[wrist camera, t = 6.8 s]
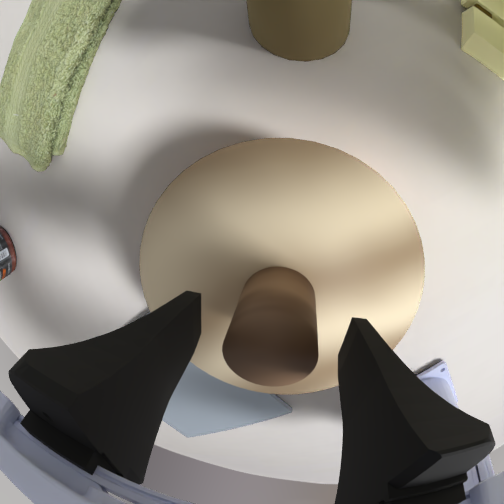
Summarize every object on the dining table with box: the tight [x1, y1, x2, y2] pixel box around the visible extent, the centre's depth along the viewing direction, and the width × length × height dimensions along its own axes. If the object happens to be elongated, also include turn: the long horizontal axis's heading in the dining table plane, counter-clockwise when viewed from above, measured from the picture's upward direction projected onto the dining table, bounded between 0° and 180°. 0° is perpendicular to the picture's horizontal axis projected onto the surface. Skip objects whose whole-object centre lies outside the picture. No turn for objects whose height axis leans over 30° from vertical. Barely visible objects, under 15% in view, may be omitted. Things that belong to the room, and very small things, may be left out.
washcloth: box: [0, 0, 121, 172], centre depth 13 cm, size 13×18×3 cm
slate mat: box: [146, 312, 292, 438], centre depth 25 cm, size 16×16×1 cm
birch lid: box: [139, 138, 425, 394], centre depth 12 cm, size 15×15×5 cm
